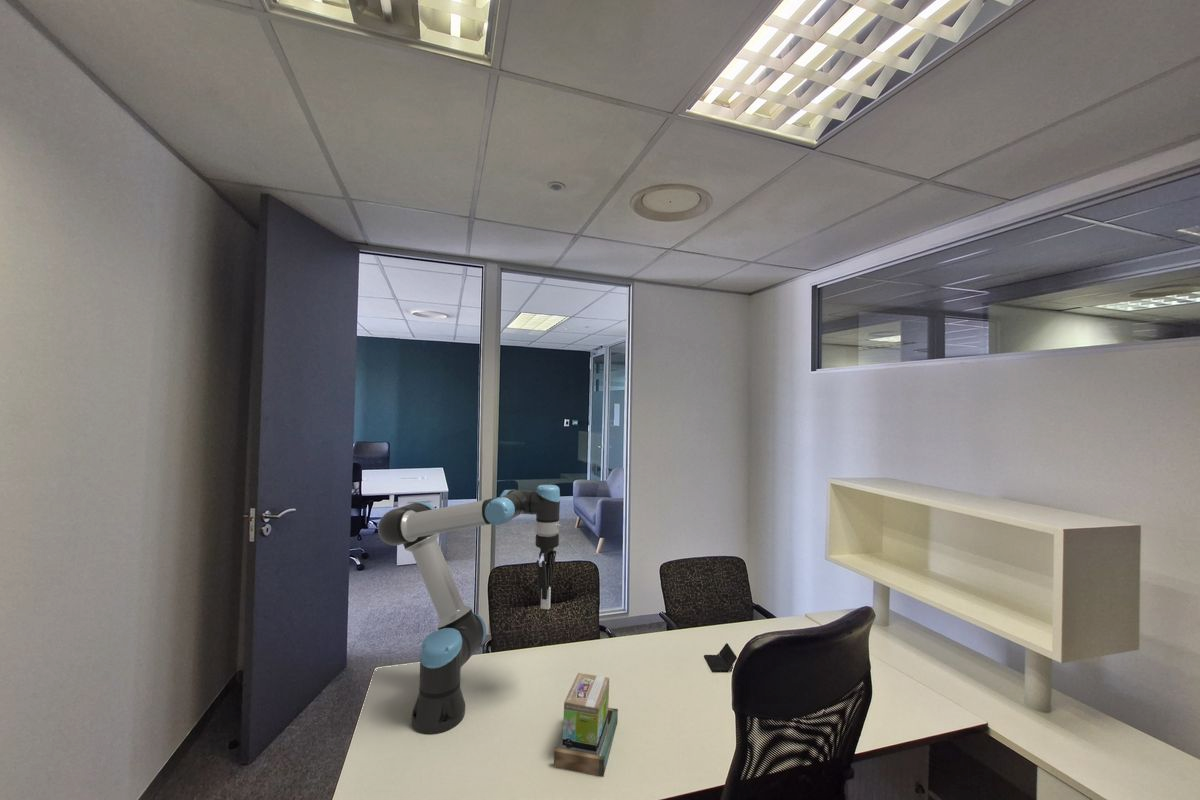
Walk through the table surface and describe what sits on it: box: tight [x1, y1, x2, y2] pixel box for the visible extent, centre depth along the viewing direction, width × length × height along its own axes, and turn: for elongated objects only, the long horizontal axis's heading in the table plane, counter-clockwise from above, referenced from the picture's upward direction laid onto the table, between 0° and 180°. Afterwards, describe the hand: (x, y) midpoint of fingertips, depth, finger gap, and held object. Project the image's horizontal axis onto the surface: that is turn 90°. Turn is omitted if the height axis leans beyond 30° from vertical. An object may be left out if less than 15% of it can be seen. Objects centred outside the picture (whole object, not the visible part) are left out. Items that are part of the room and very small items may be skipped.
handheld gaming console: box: [703, 642, 738, 674], centre depth 165 cm, size 12×7×10 cm
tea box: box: [561, 672, 610, 756], centre depth 124 cm, size 15×10×15 cm, turn 168°
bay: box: [553, 707, 619, 777], centre depth 123 cm, size 13×21×4 cm, turn 168°
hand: (545, 608), depth 142 cm, fingers closed
